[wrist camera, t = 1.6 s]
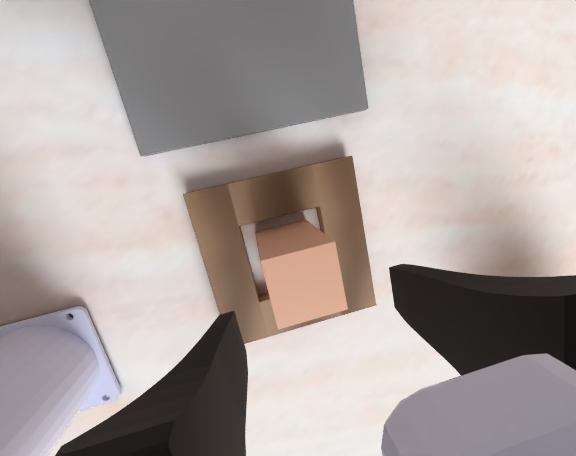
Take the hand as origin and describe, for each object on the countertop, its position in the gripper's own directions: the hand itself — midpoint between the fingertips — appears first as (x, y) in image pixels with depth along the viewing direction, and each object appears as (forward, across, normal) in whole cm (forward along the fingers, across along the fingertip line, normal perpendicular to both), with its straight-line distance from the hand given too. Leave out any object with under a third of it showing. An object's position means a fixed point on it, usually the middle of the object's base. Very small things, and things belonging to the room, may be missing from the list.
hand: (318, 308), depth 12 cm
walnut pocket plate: (+9, 0, 0) cm, 9 cm away
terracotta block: (+10, 0, 0) cm, 10 cm away
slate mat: (+9, 0, -14) cm, 17 cm away
